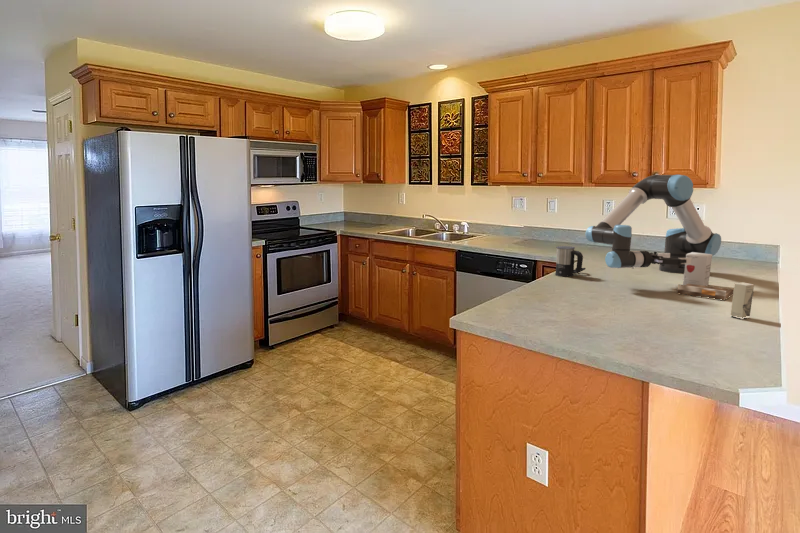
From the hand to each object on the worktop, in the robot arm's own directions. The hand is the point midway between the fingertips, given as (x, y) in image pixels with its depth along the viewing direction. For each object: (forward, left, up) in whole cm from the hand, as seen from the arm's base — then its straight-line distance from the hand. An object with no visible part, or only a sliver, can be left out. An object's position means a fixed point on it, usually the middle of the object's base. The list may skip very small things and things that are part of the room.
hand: (679, 258), depth 234 cm
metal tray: (+14, -9, -13) cm, 21 cm away
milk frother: (-49, -10, -13) cm, 51 cm away
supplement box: (+6, +8, -13) cm, 17 cm away
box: (+33, -41, -13) cm, 54 cm away
